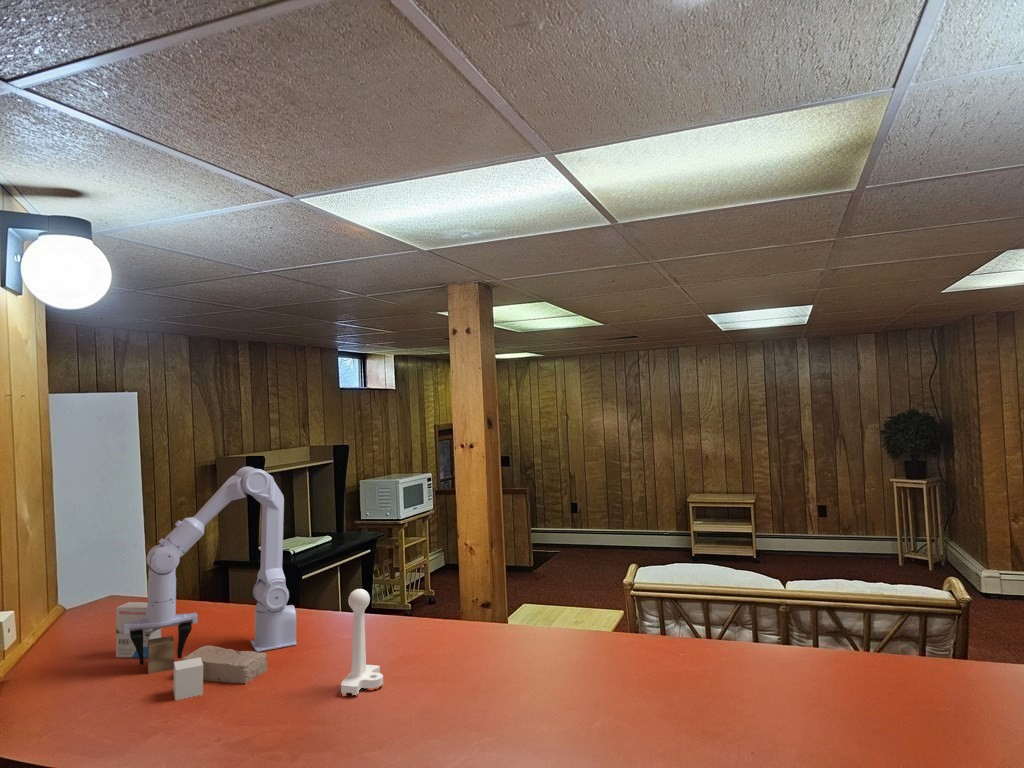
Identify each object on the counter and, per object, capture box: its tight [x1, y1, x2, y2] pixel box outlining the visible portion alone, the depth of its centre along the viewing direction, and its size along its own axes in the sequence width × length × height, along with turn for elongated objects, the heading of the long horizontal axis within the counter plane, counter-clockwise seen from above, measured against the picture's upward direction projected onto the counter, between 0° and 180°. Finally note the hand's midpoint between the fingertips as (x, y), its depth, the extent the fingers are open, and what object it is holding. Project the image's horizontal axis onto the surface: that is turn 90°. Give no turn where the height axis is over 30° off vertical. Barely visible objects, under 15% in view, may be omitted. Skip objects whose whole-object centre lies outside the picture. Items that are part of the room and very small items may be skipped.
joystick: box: [340, 588, 384, 696], centre depth 137 cm, size 11×8×20 cm
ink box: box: [115, 601, 162, 659], centre depth 156 cm, size 9×5×12 cm, turn 84°
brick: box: [180, 645, 268, 685], centre depth 144 cm, size 17×8×5 cm, turn 77°
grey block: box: [172, 657, 204, 701], centre depth 134 cm, size 5×5×6 cm
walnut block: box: [146, 635, 175, 675], centre depth 148 cm, size 5×5×6 cm
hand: (160, 660), depth 148 cm, fingers open, 7 cm apart
